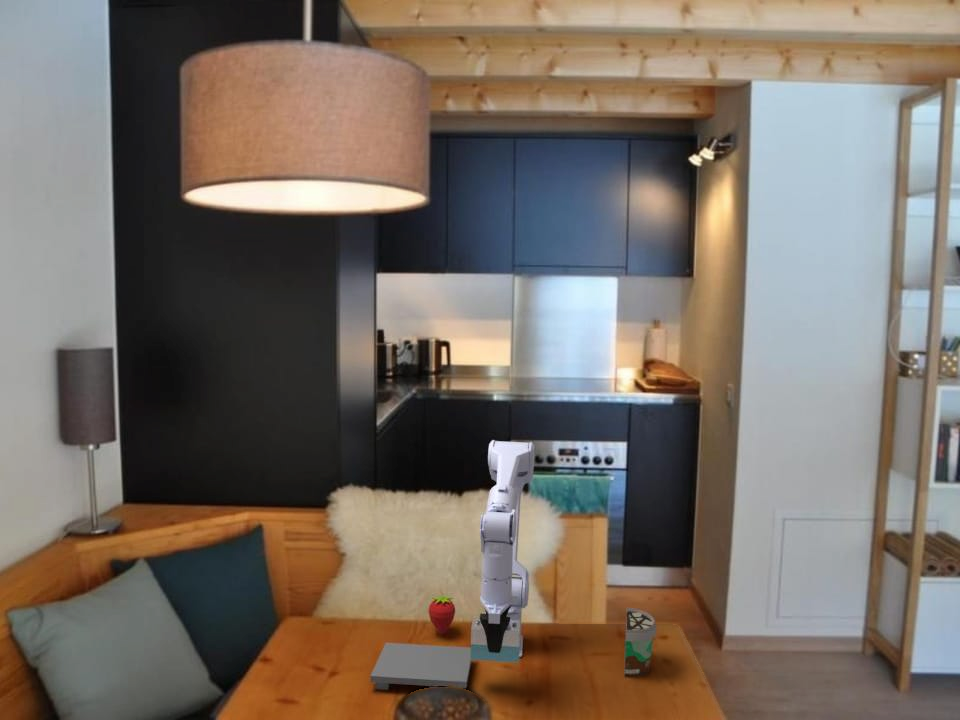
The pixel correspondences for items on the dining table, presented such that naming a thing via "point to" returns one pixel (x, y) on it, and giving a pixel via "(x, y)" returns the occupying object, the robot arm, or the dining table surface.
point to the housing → (508, 645)
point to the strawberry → (441, 613)
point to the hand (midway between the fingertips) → (495, 645)
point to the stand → (422, 665)
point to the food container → (638, 642)
